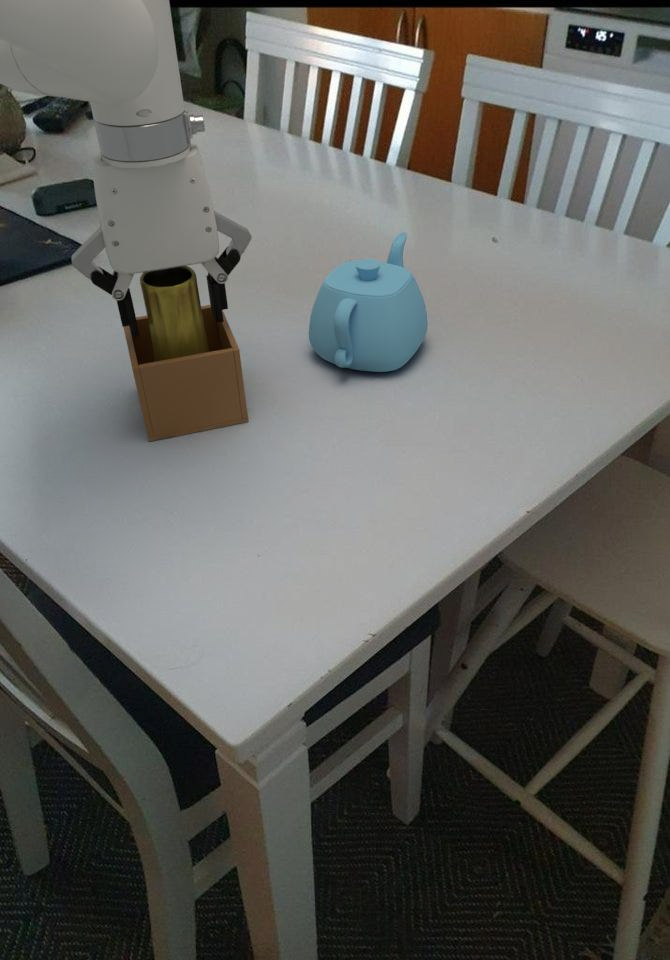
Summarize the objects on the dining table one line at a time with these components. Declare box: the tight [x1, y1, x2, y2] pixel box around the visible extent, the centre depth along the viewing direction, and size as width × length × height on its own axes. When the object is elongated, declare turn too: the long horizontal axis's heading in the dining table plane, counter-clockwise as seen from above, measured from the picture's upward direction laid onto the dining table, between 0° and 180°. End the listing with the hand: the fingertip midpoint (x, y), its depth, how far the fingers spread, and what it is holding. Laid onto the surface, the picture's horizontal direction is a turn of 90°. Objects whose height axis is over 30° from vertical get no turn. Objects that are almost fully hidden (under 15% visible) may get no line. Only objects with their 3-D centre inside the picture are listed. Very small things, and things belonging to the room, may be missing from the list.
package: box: [123, 304, 249, 443], centre depth 83 cm, size 10×10×8 cm
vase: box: [139, 265, 209, 362], centre depth 81 cm, size 6×6×14 cm
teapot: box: [308, 232, 429, 373], centre depth 90 cm, size 13×11×18 cm
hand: (176, 322), depth 79 cm, fingers open, 7 cm apart
